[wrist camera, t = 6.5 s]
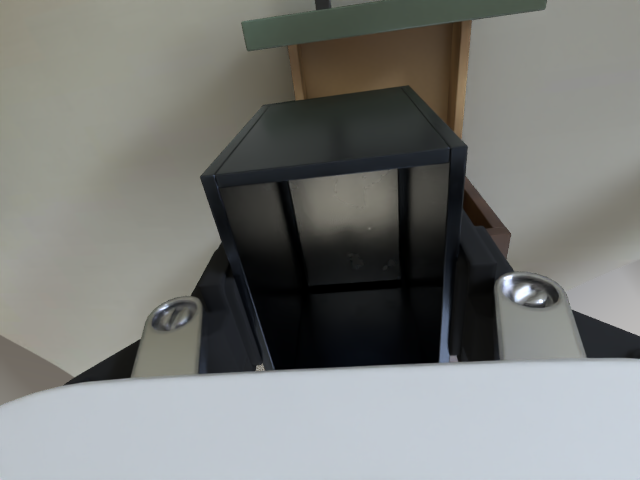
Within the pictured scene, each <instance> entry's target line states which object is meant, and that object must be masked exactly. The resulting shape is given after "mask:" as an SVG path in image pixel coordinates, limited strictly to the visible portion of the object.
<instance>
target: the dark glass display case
mask: <svg viewBox="0 0 640 480" xmlns="http://www.w3.org/2000/svg"><path fill="white" fill-rule="evenodd" d="M467 149H468V147H467V145H466V144H465V143H464V142H463V141H462V140H461V139H460V138H459V137H458V136H457V135H456V134H455V133H454V131H453V130H452V129H451V128H450V127H449V126H448V125H447V124H446V123H445V122H444V121H443V120H442V119H441V118H440V117H439V116H438V115H437V114H436V113H435V112H434V111H433V110H432V109H431V108H430V107H429V106H428V105H427V103H426V102H425V101H424V100H423V99H422V98H421V97H420V96H419V95H418V94H417V93H416V92H415V91H414V90H413V89H412V88H411V87H410V86H409V85H406V86H399V87H392V88H384V89H377V90H370V91H362V92H355V93H348V94H340V95H333V96H326V97H318V98H311V99H304V100H297V101H289V102H282V103H275V104H267V105H263V106H262V107H261V108H260V109H259V110H258V112H257V113H256V114H255V115H254V116H253V117H252V118H251V120H250V121H249V122H248V123H247V124H246V125H245V126H244V127H243V129H242V130H241V131H240V132H239V133H238V134H237V135H236V136H235V138H234V139H233V140H232V141H231V142H230V143H229V144H228V146H227V147H226V148H225V149H224V150H223V151H222V152H221V153H220V155H219V156H218V157H217V158H216V159H215V160H214V161H213V163H212V164H211V165H210V166H209V167H208V168H207V169H206V170H205V172H204V173H203V174H202V175H201V176H200V179H201V182H202V185H203V187H204V190H205V193H206V196H207V199H208V202H209V205H210V208H211V211H212V214H213V217H214V220H215V223H216V226H217V229H218V232H219V235H220V238H221V241H222V244H223V247H224V250H225V253H226V256H227V259H228V262H229V265H230V268H231V271H232V274H233V277H234V279H235V282H236V285H237V288H238V291H239V294H240V297H241V300H242V303H243V306H244V309H245V312H246V315H247V318H248V321H249V324H250V327H251V330H252V333H253V336H254V339H255V342H256V345H257V348H258V351H259V354H260V357H261V360H262V363H263V366H264V369H265V371H270V370H291V369H312V368H334V367H356V366H378V365H401V364H426V363H450V355H449V346H450V333H451V321H452V308H453V296H454V283H455V271H456V261H458V257H459V245H460V233H461V221H462V209H463V197H464V185H465V173H466V161H467Z"/></svg>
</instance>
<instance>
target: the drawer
mask: <svg viewBox="0 0 640 480" xmlns="http://www.w3.org/2000/svg"><path fill="white" fill-rule="evenodd" d="M546 3H547V0H382V1H376V2H369V3H362V4H356V5H349V6H342V7H336V8H331V0H315V4H316V10H315V11H309V12H302V13H295V14H289V15H282V16H275V17H269V18H262V19H255V20H249V21H243V22H242V23H241V24H242V29H243V34H244V39H245V44H246V48H247V51H254V50H261V49H268V48H275V47H282V46H288V53H289V59H290V66H291V73H292V79H293V86H294V92H295V99H296V101H297V100H304V99H311V98H318V97H326V96H333V95H340V94H348V93H355V92H362V91H370V90H377V89H384V88H392V87H399V86H406V85H409V86H410V87H411V88H412V89H413V90H414V91H415V92H416V93H417V94H418V95H419V96H420V97H421V98H422V99H423V100H424V101H425V102H426V103H427V105H428V106H429V107H430V108H431V109H432V110H433V111H434V112H435V113H436V114H437V115H438V116H439V117H440V118H441V119H442V120H443V121H444V122H445V123H446V124H447V125H448V126H449V127H450V128H451V129H452V130H453V131H454V133H455V134H456V135H457V136H458V137H459V138H460V139H461V140H462V128H463V116H464V105H465V93H466V81H467V70H468V58H469V46H470V35H471V23H472V20H475V19H483V18H490V17H497V16H504V15H511V14H518V13H525V12H533V11H540V10H544V9H545V8H546Z"/></svg>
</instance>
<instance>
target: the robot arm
mask: <svg viewBox="0 0 640 480" xmlns="http://www.w3.org/2000/svg"><path fill="white" fill-rule="evenodd" d="M449 355H450V356H456V357H457V360H458V362H450V363H426V364H401V365H378V366H356V367H334V368H312V369H291V370H270V371H255V370H256V366H257V365H261V364H262V360H261V357H260V354H259V351H258V348H257V345H256V342H255V339H254V336H253V333H252V330H251V327H250V324H249V321H248V318H247V315H246V312H245V309H244V306H243V303H242V300H241V297H240V294H239V291H238V288H237V285H236V282H235V279H234V277H233V274H232V271H231V268H230V265H229V262H228V259H227V256H226V253H225V250H224V247H223V244H222V242H221V244H220V246H219V248H218V249H217V250H216V251H215V252H214V254H213V256H212V258H211V259H210V261H209V263H208V265H207V267H206V269H205V271H204V272H203V274H202V276H201V278H200V280H199V282H198V283H197V285H196V287H195V289H194V291H193V293H192V295H191V296H181V297H176V298H173V299H170V300H168V301H166V302H164V303H162V304H161V305H159V306H158V307H157V308H155V309H154V310H153V311H152V312H151V314H150V315H149V316H148V318H147V320H146V322H145V326H144V329H143V333H142V337H141V339H140V340H138V341H136V342H135V343H133V344H131V345H129V346H128V347H126V348H124V349H123V350H121V351H119V352H117V353H116V354H114V355H112V356H111V357H109V358H107V359H105V360H104V361H102V362H100V363H99V364H97V365H95V366H94V367H92V368H90V369H88V370H87V371H85V372H83V373H82V374H80V375H78V376H76V377H75V378H73V379H72V380H70V381H69V382H67V383H66V384H64V385H63V386H60V387H56V388H52V389H48V390H44V391H40V392H36V393H32V394H30V395H27V396H24V397H21V398H18V399H16V400H13V401H10V402H7V403H5V404H2V405H0V480H640V336H637V335H635V334H632V333H630V332H627V331H625V330H622V329H620V328H617V327H614V326H612V325H610V324H607V323H604V322H601V321H599V320H597V319H594V318H592V317H589V316H586V315H584V314H581V313H579V312H576V311H574V310H571V307H570V303H569V300H568V297H567V294H566V293H565V291H564V289H563V288H562V287H561V286H560V285H559V284H558V283H557V282H555V281H553V280H552V279H550V278H548V277H546V276H543V275H540V274H537V273H531V272H514V270H513V269H512V267H511V266H510V264H509V263H508V261H507V260H506V258H505V257H504V256H503V254H502V253H501V251H500V250H499V248H498V247H497V245H496V244H495V242H494V241H493V239H492V238H491V236H490V235H489V233H488V232H487V230H486V229H485V228H484V227H483V226H474V225H473V223H472V222H471V220H470V219H469V217H468V215H467V214H466V212H465V211H464V209H462V221H461V233H460V245H459V257H458V261H456V271H455V283H454V296H453V308H452V321H451V333H450V346H449Z"/></svg>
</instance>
